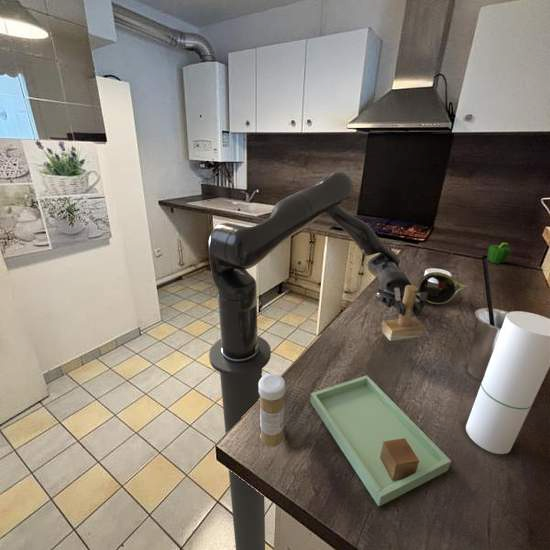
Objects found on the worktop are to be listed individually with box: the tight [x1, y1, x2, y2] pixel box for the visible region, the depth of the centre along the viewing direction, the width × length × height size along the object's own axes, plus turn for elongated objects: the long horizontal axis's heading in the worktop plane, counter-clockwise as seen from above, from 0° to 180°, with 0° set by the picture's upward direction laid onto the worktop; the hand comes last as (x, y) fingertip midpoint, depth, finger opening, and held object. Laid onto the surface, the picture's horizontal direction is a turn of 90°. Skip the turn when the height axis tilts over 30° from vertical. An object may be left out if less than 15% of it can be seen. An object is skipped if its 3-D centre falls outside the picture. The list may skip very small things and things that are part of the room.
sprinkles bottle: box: [259, 373, 286, 448], centre depth 52 cm, size 5×5×14 cm
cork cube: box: [380, 438, 419, 481], centre depth 48 cm, size 4×4×4 cm
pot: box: [416, 272, 470, 305], centre depth 106 cm, size 17×11×18 cm
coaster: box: [423, 267, 453, 285], centre depth 121 cm, size 10×10×4 cm
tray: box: [309, 374, 452, 507], centre depth 55 cm, size 22×15×2 cm
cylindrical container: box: [465, 310, 550, 455], centre depth 50 cm, size 7×7×25 cm
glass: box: [466, 255, 510, 382], centre depth 64 cm, size 11×11×30 cm
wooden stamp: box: [381, 284, 426, 342], centre depth 74 cm, size 4×9×14 cm, turn 103°
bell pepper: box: [487, 242, 511, 265], centre depth 140 cm, size 8×8×10 cm
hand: (411, 312), depth 70 cm, fingers closed on wooden stamp, 3 cm apart
